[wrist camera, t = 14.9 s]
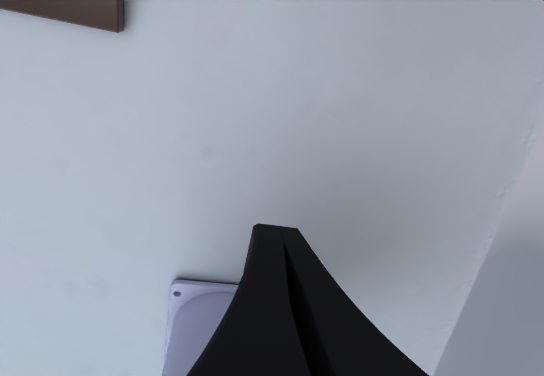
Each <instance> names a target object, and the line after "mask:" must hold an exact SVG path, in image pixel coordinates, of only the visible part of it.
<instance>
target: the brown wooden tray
mask: <svg viewBox="0 0 544 376" xmlns="http://www.w3.org/2000/svg"><path fill="white" fill-rule="evenodd" d="M0 9H4V10H9V11H14V12H19V13H24V14H29V15H34V16H39V17H43V18H48V19H53V20H58V21H63V22H68V23H73V24H78V25H83V26H88V27H93V28H97V29H102V30H107V31H112V32H117V33H118V32H121V31H124V0H0Z"/></svg>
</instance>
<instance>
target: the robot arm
mask: <svg viewBox="0 0 544 376" xmlns="http://www.w3.org/2000/svg"><path fill="white" fill-rule="evenodd" d="M176 291H179V292H176ZM162 376H429V375H428V374H427V373H425V372H424V371H423V370H422V369H421V368H419V367H418V366H417V365H416V364H415V363H414V362H413V361H412V360H410V359H409V358H408V357H407V356H406V355H405V354H404V353H403V352H401V351H400V350H399V349H398V348H397V347H396V346H395V345H394V344H393V343H392V342H391V341H390V340H388V339H387V338H386V337H385V336H384V335H383V334H382V333H381V332H380V331H379V330H378V329H377V328H376V327H375V326H374V325H373V323H372V322H371V321H370V320H369V319H368V318H367V317H366V316H365V315H364V314H363V313H362V312H361V311H360V310H359V309H358V308H357V306H356V305H355V304H354V303H353V302H352V301H351V299H350V298H349V297H348V296H347V295H346V294H345V292H344V291H343V290H342V289H341V288H340V286H339V285H338V284H337V283H336V281H335V280H334V279H333V277H332V276H331V275H330V274H329V272H328V271H327V270H326V268H325V267H324V266H323V264H322V263H321V261H320V260H319V259H318V257H317V256H316V254H315V253H314V251H313V250H312V249H311V247H310V246H309V244H308V243H307V241H306V240H305V238H304V237H303V236H302V234H301V233H300V231H299V230H298V228H291V227H283V226H275V225H267V224H256V225H255V226H253V231H252V235H251V240H250V244H249V249H248V254H247V258H246V263H245V267H244V273H243V276H242V279H241V281H240V283H239V285H231V284H221V283H210V282H199V281H188V280H174V281H173V282H172V283H171V287H170V298H169V310H168V323H167V336H166V348H165V361H164V367H163V372H162Z"/></svg>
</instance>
